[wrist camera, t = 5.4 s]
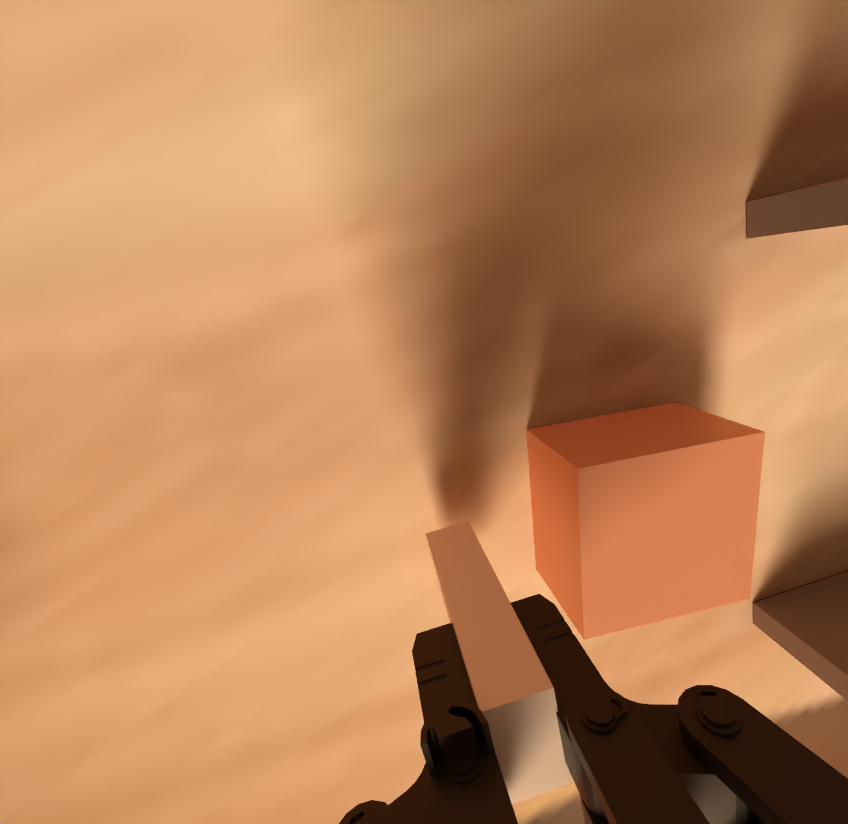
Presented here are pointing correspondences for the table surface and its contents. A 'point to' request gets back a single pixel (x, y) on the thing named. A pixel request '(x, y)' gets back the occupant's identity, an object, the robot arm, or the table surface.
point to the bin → (844, 593)
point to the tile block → (644, 514)
